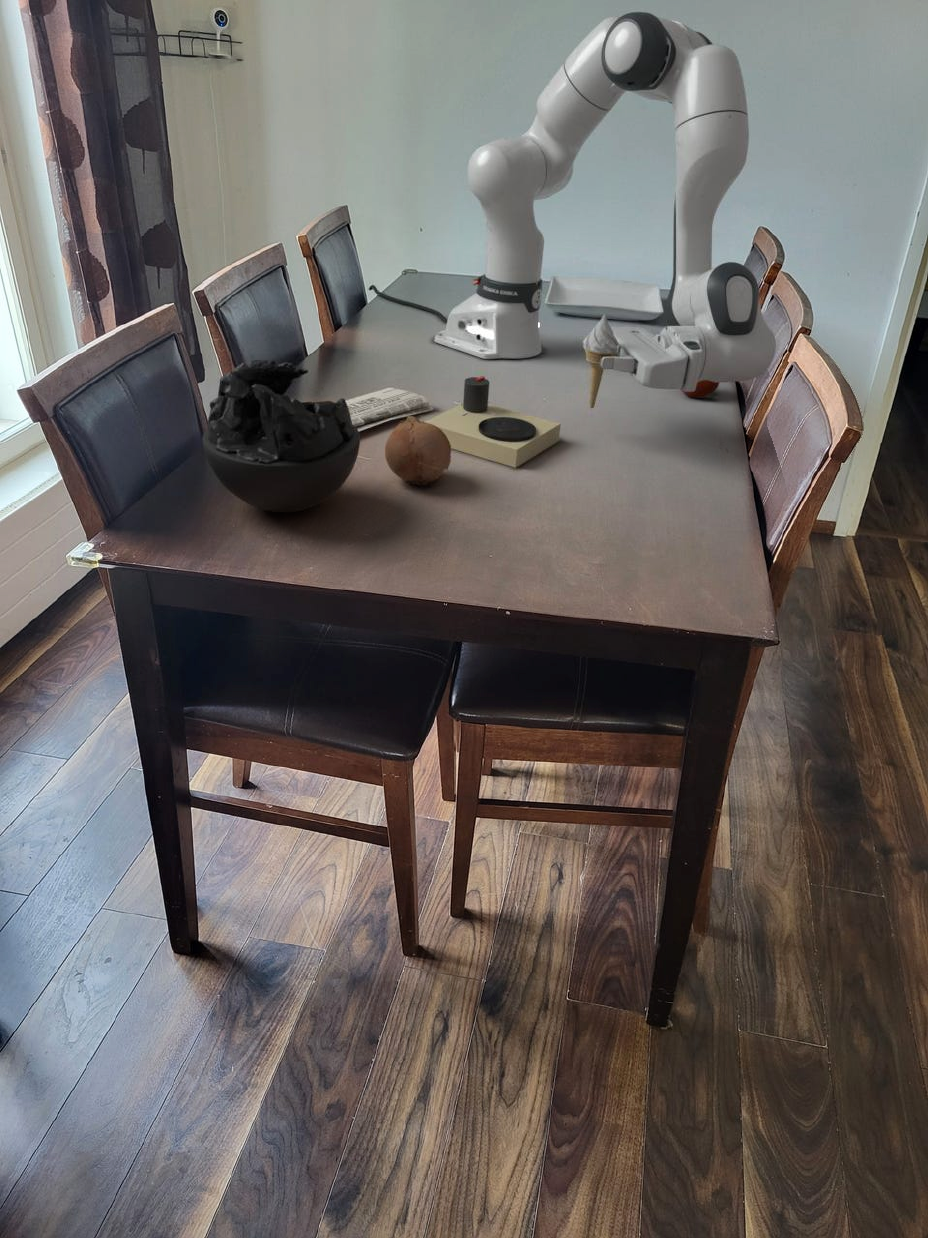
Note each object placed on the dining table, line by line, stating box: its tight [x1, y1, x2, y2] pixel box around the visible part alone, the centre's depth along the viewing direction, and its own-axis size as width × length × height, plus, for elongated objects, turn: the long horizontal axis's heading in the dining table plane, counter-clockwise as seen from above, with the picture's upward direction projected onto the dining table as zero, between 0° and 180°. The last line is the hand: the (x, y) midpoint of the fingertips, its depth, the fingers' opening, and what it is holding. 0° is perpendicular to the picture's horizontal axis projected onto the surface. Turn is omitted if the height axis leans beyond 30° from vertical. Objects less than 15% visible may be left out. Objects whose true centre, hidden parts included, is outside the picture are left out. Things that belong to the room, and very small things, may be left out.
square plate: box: [544, 275, 665, 322], centre depth 223 cm, size 27×27×4 cm
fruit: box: [680, 380, 721, 399], centre depth 172 cm, size 8×8×8 cm
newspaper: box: [345, 387, 435, 432], centre depth 154 cm, size 23×12×2 cm, turn 138°
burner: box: [478, 417, 536, 442], centre depth 144 cm, size 9×9×1 cm
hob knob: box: [462, 375, 490, 413], centre depth 150 cm, size 4×4×5 cm
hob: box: [424, 401, 561, 469], centre depth 148 cm, size 18×15×3 cm
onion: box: [384, 415, 452, 486], centre depth 132 cm, size 10×9×10 cm
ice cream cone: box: [582, 314, 619, 409], centre depth 146 cm, size 6×6×15 cm
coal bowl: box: [201, 358, 361, 513], centre depth 120 cm, size 20×20×19 cm
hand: (593, 355), depth 145 cm, fingers closed on ice cream cone, 5 cm apart
